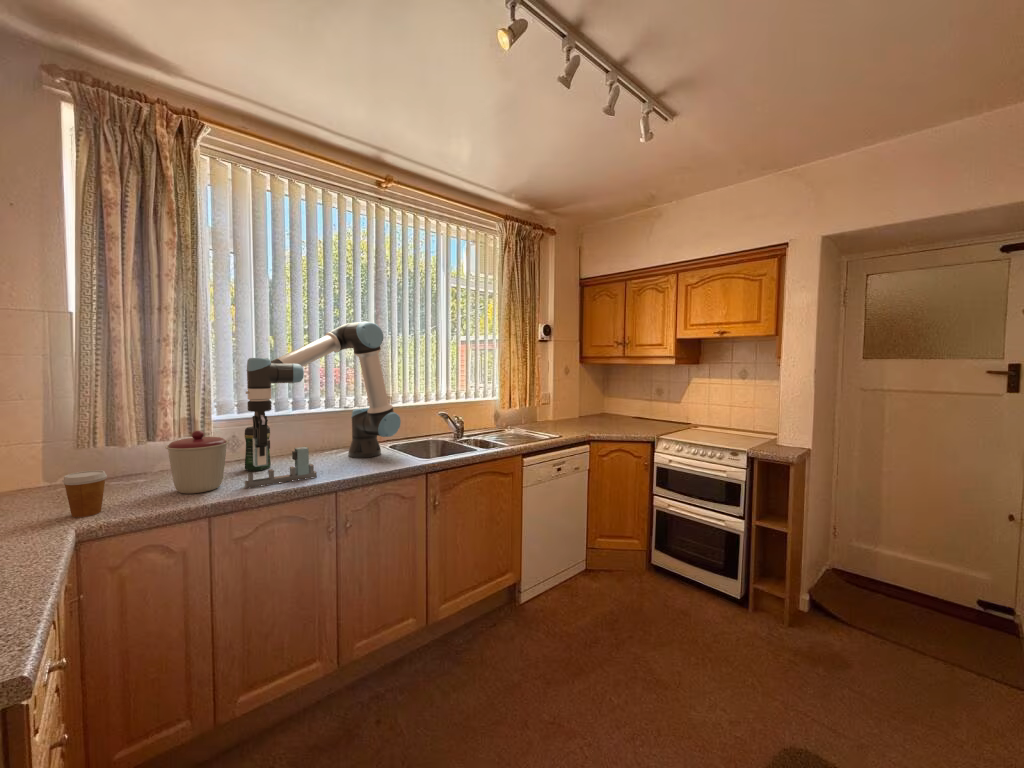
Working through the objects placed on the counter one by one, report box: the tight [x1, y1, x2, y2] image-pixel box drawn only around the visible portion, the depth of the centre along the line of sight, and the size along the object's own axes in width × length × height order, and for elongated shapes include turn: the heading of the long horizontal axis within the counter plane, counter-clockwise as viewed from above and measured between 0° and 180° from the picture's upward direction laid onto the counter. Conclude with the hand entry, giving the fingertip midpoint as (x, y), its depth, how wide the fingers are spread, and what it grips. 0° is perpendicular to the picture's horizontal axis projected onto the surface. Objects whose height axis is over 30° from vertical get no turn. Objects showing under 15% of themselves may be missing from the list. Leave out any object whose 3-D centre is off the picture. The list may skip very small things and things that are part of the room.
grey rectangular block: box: [253, 438, 271, 467], centre depth 160 cm, size 5×4×10 cm
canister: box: [165, 430, 230, 494], centre depth 153 cm, size 18×18×21 cm
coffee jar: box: [243, 424, 272, 472], centre depth 184 cm, size 10×8×19 cm
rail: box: [244, 446, 318, 489], centre depth 165 cm, size 24×4×12 cm, turn 130°
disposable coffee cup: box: [61, 469, 108, 518], centre depth 129 cm, size 10×10×12 cm
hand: (260, 463), depth 160 cm, fingers closed on grey rectangular block, 4 cm apart
